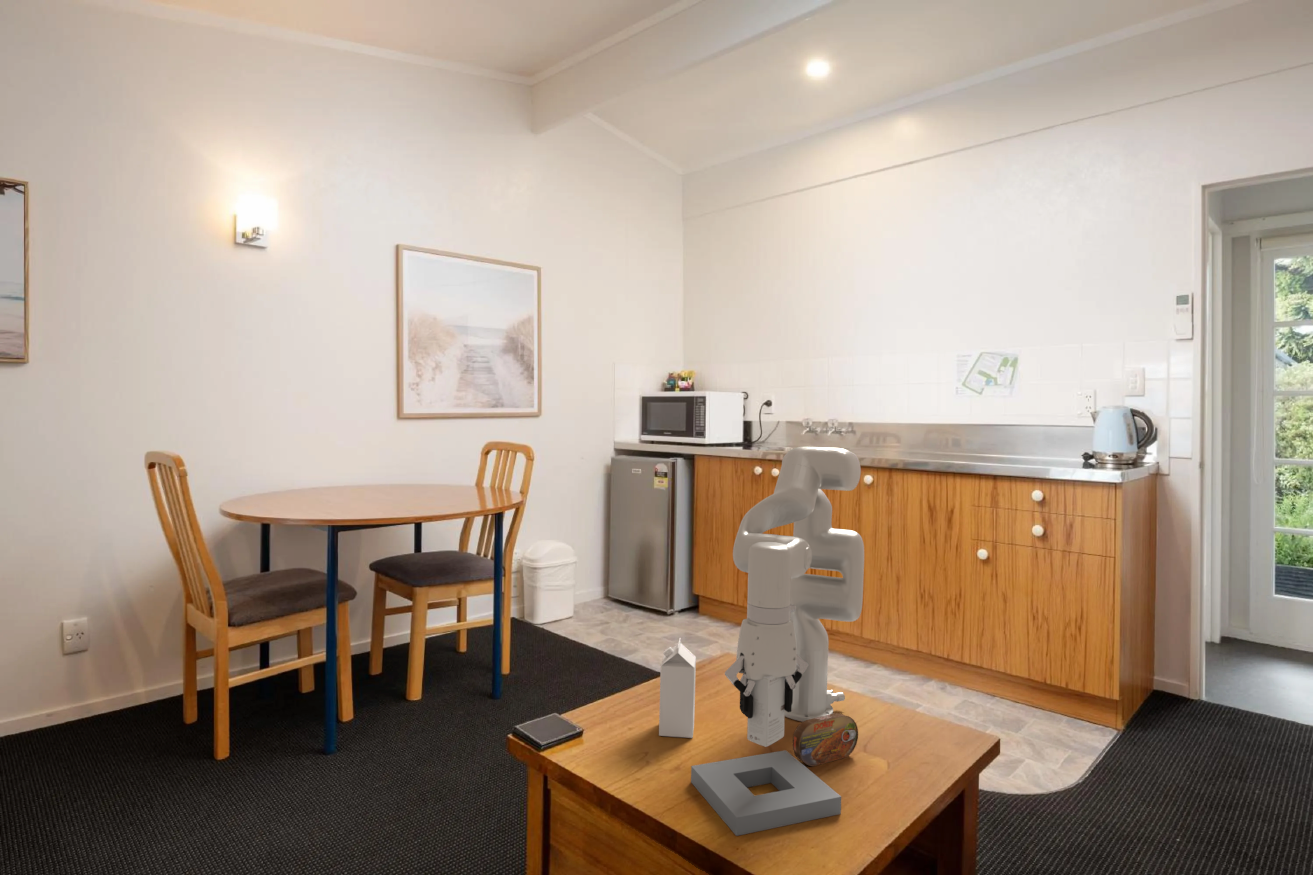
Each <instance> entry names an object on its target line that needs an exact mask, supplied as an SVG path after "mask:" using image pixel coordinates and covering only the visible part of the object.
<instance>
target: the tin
mask: <svg viewBox="0 0 1313 875" xmlns="http://www.w3.org/2000/svg"><path fill="white" fill-rule="evenodd" d="M858 740H859V729H858V725H857V723H856V720H854V719H853V718H852V717H851V716H849V715H845V714H842V713H839V712H833V714H830V715H826V716H821V717H817V718H813V719H809V720H805V721H801V723H799V724H798V726H797V727H796V729H795V730H794V732H793V737H792V750H793V751H792V752H793V753H794V755H795V756H796V757H795V758H796V759H797V760H800V762H803V763H804V764H806V765H807V766H808V767H809V766H810V767H817V766H820V765H824V764H827V763H831V762H834V761H839V760H842V759H845V758H847V757H849V756H850V755H851V754H852V753H853V752H854V750H855V748H856V746H857V745H858V744H857V743H858Z"/></svg>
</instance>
